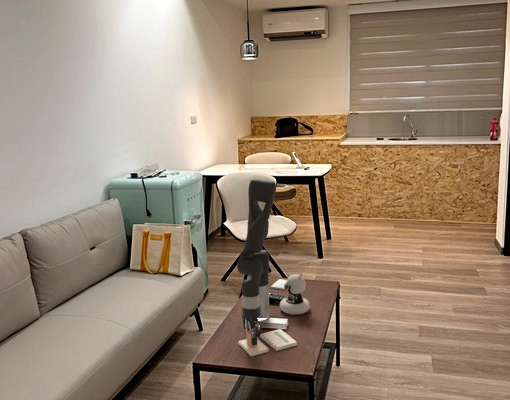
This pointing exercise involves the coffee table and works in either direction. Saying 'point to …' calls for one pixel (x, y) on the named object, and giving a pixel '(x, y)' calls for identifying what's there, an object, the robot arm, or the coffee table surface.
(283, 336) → the board
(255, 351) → the block on cream base
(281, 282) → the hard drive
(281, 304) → the decorative figurine
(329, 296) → the coffee table surface
